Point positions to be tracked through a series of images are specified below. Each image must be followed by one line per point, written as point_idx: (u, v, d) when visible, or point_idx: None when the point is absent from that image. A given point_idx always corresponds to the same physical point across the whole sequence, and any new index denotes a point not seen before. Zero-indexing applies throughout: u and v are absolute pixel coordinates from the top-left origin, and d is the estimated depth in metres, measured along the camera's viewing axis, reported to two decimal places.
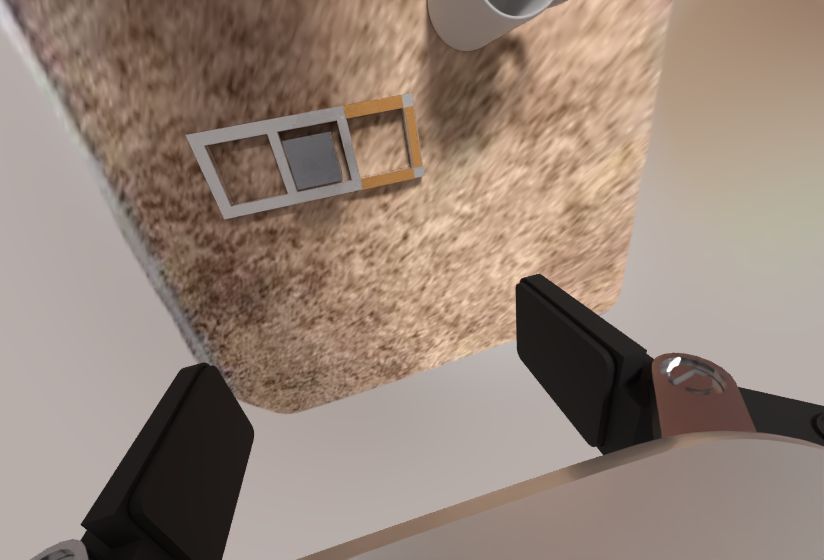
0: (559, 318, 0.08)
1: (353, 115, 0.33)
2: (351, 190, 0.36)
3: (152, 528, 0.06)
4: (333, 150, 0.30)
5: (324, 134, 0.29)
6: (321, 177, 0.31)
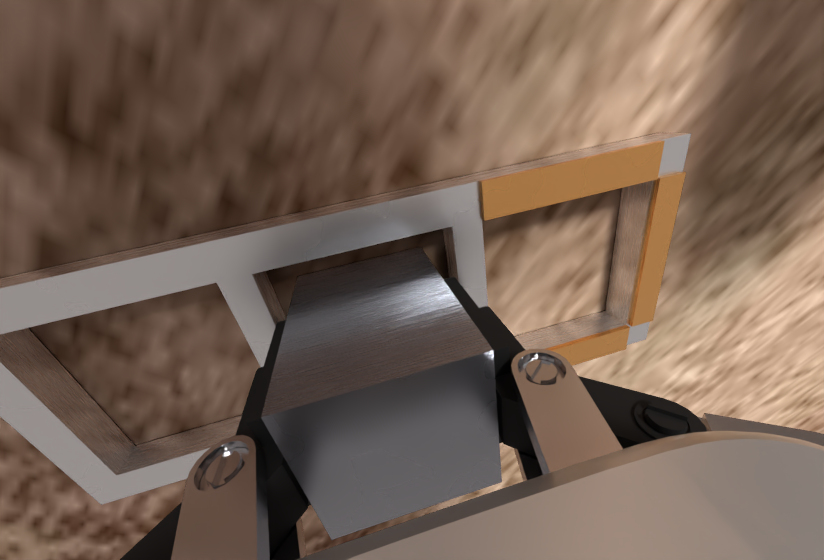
0: None
1: (508, 210, 0.10)
2: None
3: None
4: (491, 408, 0.07)
5: (467, 362, 0.06)
6: (424, 491, 0.08)
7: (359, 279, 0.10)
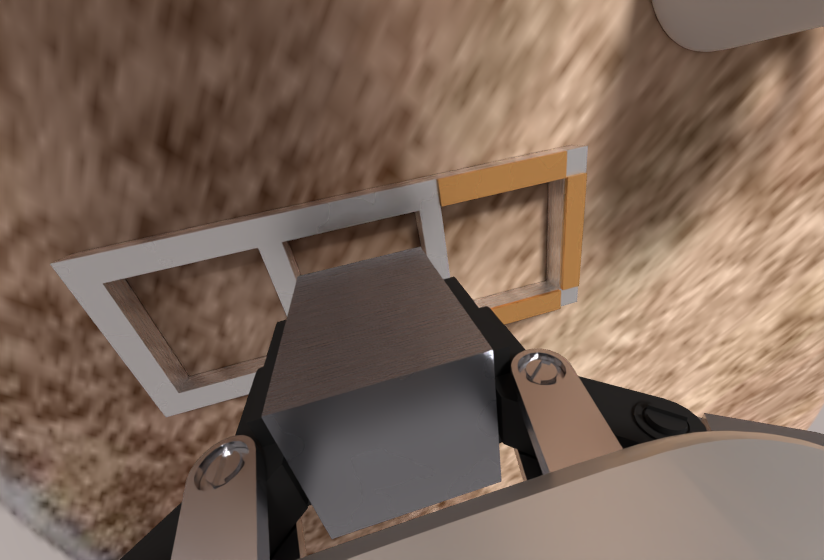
0: None
1: (458, 199, 0.14)
2: None
3: None
4: (491, 408, 0.07)
5: (466, 362, 0.06)
6: (424, 491, 0.08)
7: (359, 279, 0.10)
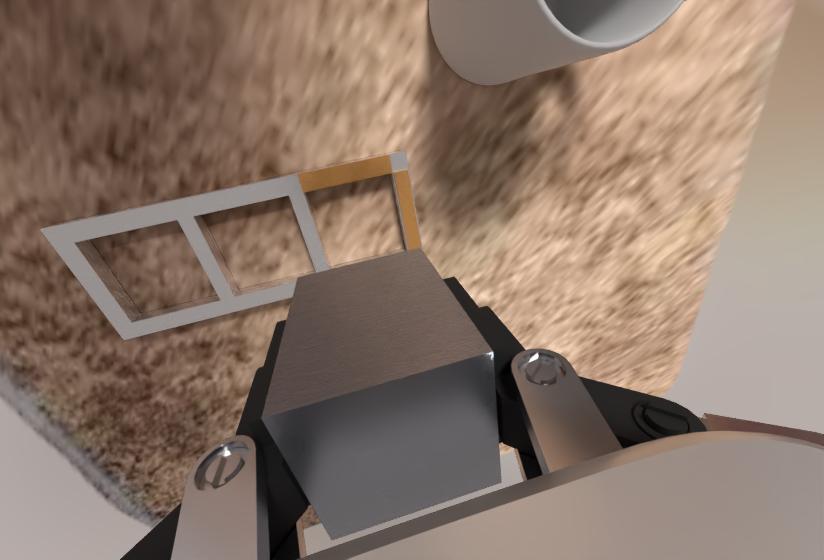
0: None
1: (314, 187, 0.21)
2: None
3: None
4: (491, 409, 0.07)
5: (466, 363, 0.06)
6: (424, 492, 0.08)
7: (359, 280, 0.10)
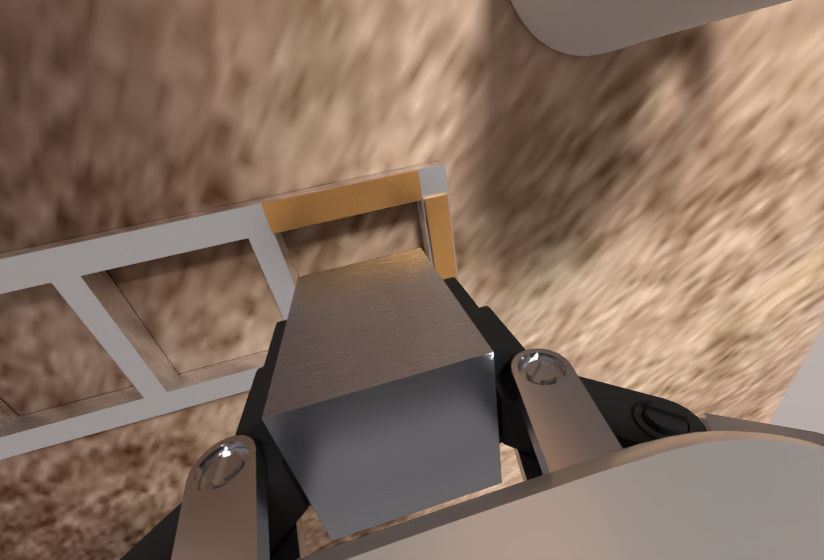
0: None
1: (291, 225, 0.13)
2: None
3: None
4: (491, 409, 0.07)
5: (467, 364, 0.06)
6: (425, 492, 0.08)
7: (359, 280, 0.10)
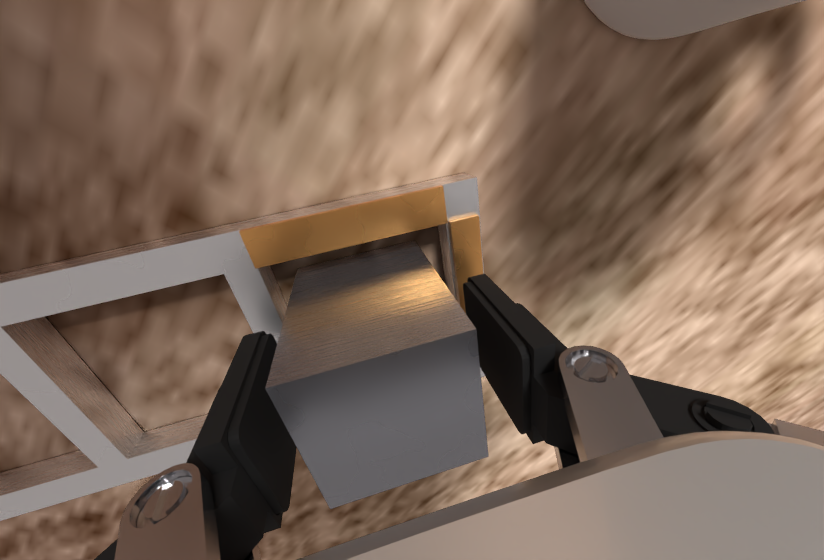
0: (491, 315, 0.08)
1: (280, 257, 0.10)
2: None
3: (245, 459, 0.07)
4: (476, 384, 0.07)
5: (452, 340, 0.07)
6: (416, 464, 0.08)
7: (356, 270, 0.10)
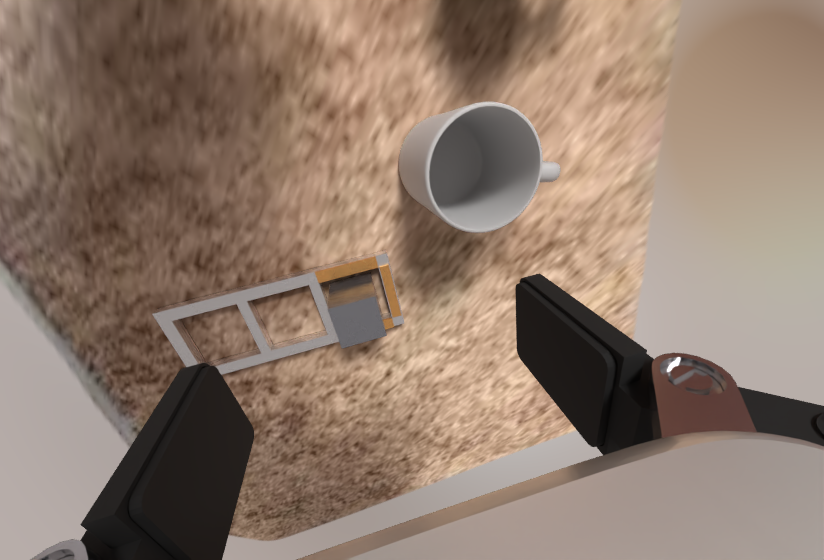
0: (559, 318, 0.08)
1: (326, 279, 0.32)
2: (327, 343, 0.35)
3: (152, 528, 0.06)
4: (378, 311, 0.29)
5: (369, 298, 0.29)
6: (365, 335, 0.30)
7: (349, 283, 0.32)
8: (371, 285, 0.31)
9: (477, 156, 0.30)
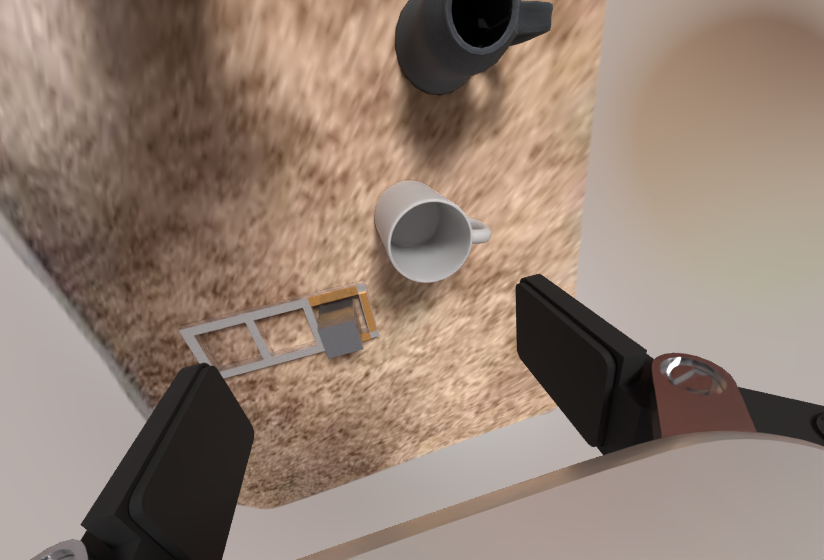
0: (559, 318, 0.08)
1: (316, 303, 0.40)
2: (317, 351, 0.44)
3: (152, 528, 0.06)
4: (356, 331, 0.38)
5: (350, 322, 0.37)
6: (346, 349, 0.39)
7: (335, 306, 0.41)
8: (352, 309, 0.40)
9: (436, 211, 0.39)
